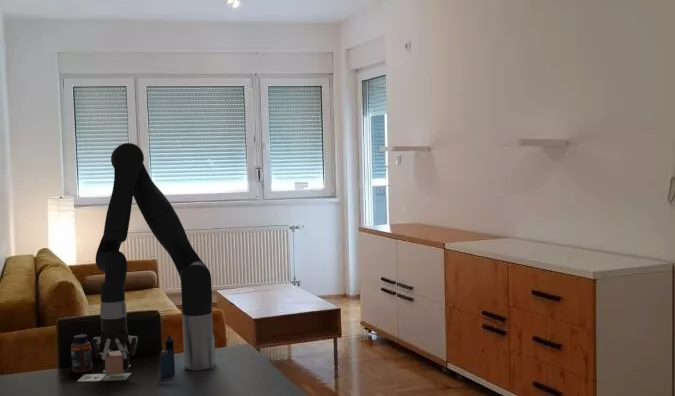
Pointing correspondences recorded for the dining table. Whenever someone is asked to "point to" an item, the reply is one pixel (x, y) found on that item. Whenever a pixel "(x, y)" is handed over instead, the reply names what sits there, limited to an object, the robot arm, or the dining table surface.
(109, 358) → the terracotta block
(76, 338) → the supplement bottle
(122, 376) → the sage pad
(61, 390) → the dining table surface
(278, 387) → the dining table surface
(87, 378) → the tile
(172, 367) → the vaping device
